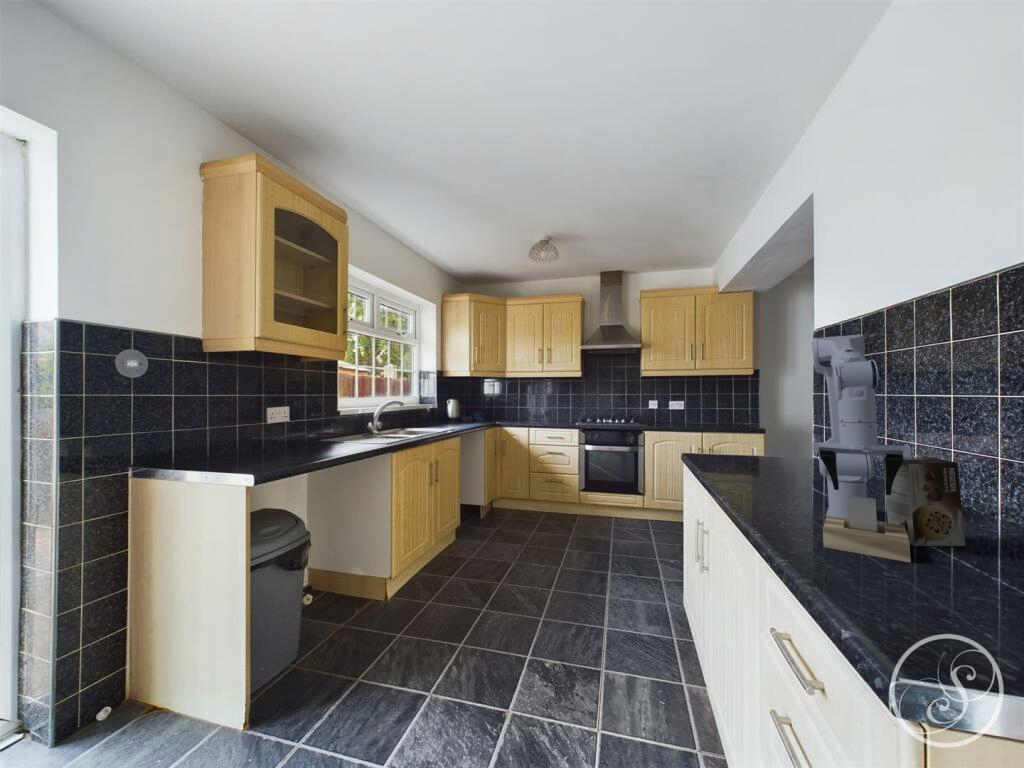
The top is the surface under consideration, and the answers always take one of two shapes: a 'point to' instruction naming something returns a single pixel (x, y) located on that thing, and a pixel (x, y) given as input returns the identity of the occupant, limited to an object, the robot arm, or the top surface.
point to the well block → (867, 539)
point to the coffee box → (927, 502)
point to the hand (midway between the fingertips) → (861, 491)
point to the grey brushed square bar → (862, 514)
